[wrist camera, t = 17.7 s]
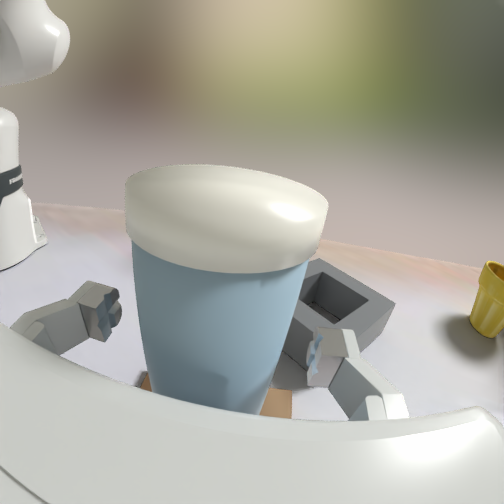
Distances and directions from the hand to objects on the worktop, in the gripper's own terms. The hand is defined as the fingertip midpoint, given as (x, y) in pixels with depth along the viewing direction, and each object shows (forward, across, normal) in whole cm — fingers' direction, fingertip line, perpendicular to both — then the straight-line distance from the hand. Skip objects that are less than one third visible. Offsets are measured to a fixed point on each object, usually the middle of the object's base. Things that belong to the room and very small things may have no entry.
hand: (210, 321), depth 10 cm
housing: (+16, -9, +13) cm, 22 cm away
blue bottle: (0, 0, +12) cm, 12 cm away
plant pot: (+19, -40, +13) cm, 46 cm away
